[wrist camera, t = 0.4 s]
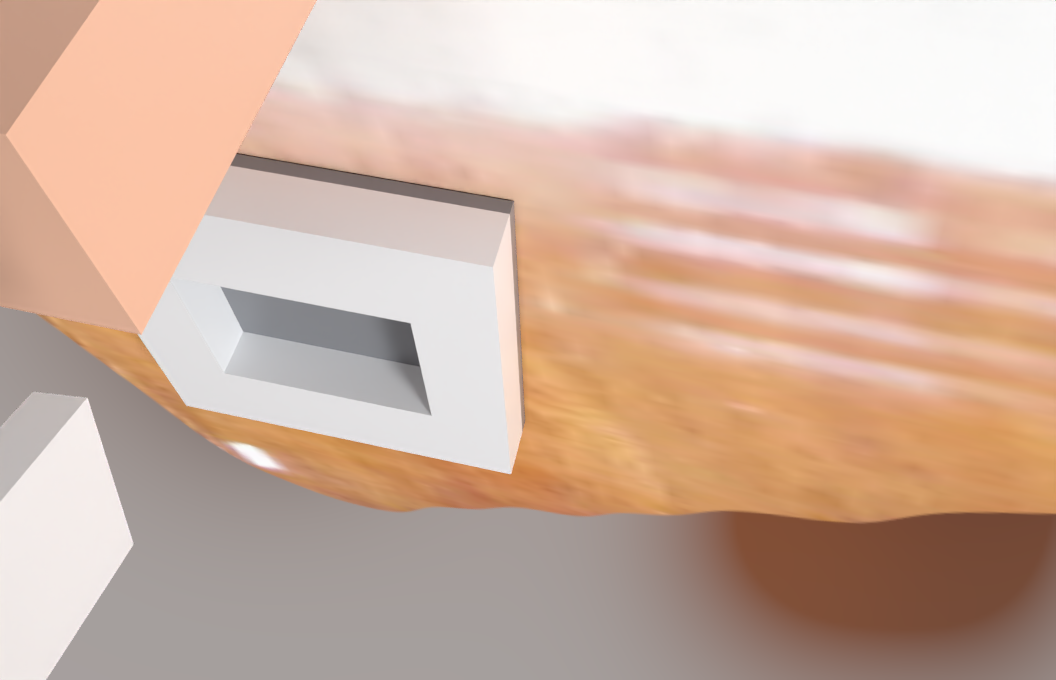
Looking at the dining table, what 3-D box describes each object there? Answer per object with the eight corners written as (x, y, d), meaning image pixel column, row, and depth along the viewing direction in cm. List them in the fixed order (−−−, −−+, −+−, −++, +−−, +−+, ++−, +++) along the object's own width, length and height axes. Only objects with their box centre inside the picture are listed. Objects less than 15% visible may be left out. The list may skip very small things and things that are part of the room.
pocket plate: (72, 125, 31) (34, 183, 30) (513, 201, 29) (492, 266, 28) (209, 357, 44) (186, 405, 42) (524, 421, 42) (510, 474, 40)
